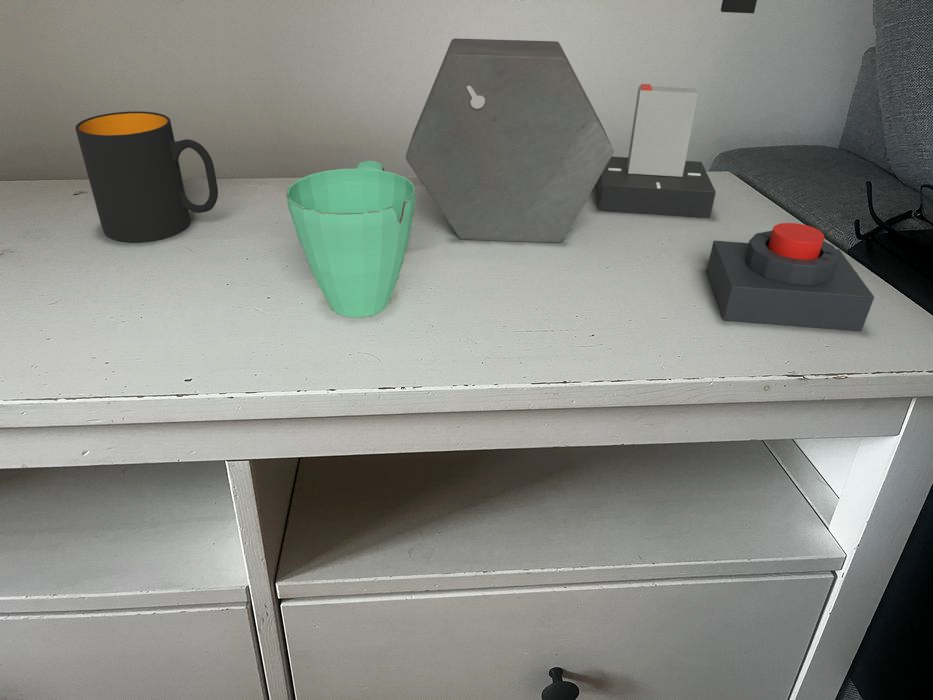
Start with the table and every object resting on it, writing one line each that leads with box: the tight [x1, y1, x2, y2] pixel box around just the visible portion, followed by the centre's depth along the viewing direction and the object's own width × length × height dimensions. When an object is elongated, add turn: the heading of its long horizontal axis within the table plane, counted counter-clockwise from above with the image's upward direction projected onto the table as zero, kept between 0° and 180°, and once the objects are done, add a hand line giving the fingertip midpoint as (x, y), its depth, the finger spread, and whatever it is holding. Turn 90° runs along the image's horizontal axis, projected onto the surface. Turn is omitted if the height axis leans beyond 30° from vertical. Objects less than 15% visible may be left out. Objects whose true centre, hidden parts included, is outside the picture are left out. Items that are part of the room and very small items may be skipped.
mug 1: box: [75, 110, 219, 244], centre depth 70 cm, size 8×12×10 cm
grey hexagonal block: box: [405, 37, 615, 243], centre depth 70 cm, size 17×8×21 cm
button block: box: [706, 230, 875, 332], centre depth 61 cm, size 11×9×5 cm
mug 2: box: [286, 160, 416, 319], centre depth 60 cm, size 15×10×10 cm
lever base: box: [596, 156, 717, 219], centre depth 82 cm, size 12×10×3 cm
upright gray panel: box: [627, 83, 699, 177], centre depth 79 cm, size 6×2×9 cm, turn 83°
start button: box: [768, 222, 825, 260], centre depth 60 cm, size 4×4×2 cm
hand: (722, 2), depth 68 cm, fingers open, 13 cm apart
